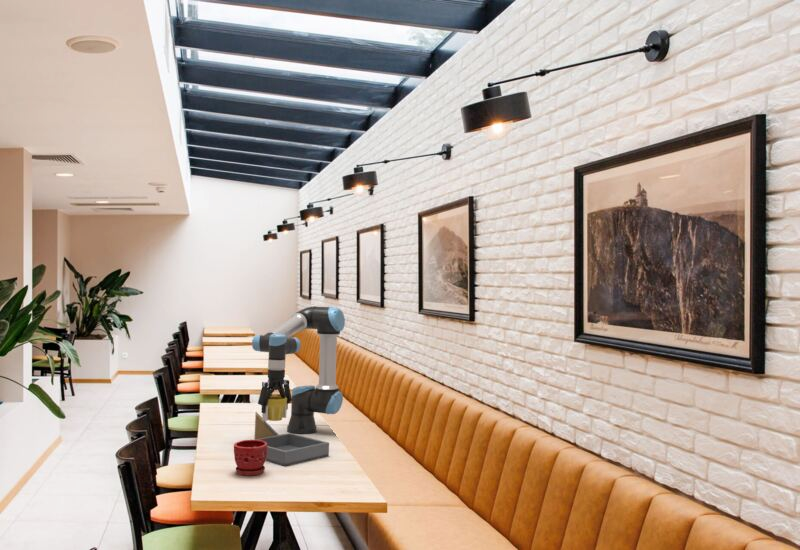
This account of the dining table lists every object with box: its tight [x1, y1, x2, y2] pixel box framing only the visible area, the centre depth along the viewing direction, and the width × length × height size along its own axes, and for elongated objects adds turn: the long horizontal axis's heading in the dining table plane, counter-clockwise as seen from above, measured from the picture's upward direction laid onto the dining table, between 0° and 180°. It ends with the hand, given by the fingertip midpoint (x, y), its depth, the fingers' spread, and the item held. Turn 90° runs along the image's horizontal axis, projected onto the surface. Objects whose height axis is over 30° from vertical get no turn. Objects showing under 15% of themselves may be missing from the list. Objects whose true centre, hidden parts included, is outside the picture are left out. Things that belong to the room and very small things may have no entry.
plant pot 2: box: [266, 395, 287, 422], centre depth 319 cm, size 10×10×10 cm
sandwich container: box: [253, 411, 279, 440], centre depth 337 cm, size 9×15×15 cm, turn 104°
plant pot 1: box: [233, 439, 267, 476], centre depth 287 cm, size 13×13×12 cm
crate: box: [254, 432, 330, 467], centre depth 318 cm, size 26×26×6 cm
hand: (274, 418), depth 319 cm, fingers closed on plant pot 2, 10 cm apart
